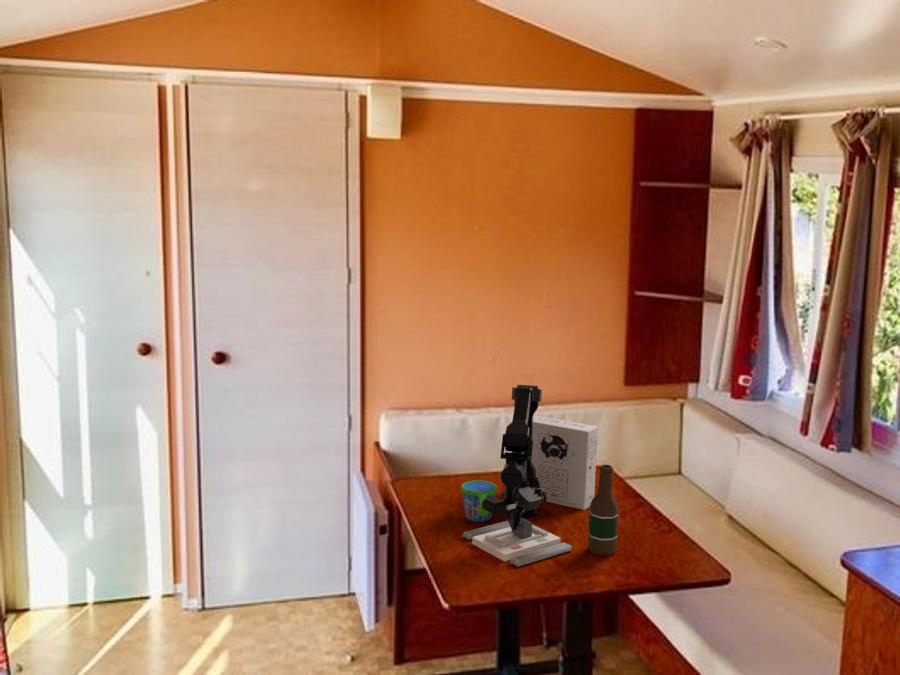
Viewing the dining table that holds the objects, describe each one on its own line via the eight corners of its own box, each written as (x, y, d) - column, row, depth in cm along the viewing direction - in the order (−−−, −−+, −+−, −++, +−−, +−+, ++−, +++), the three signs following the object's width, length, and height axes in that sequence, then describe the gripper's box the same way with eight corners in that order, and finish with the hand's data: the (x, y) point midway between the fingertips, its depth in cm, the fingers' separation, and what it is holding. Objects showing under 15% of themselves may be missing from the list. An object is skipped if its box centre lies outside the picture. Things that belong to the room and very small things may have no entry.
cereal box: (594, 503, 281) (598, 426, 277) (584, 510, 275) (588, 431, 271) (532, 489, 293) (535, 415, 288) (521, 496, 286) (524, 420, 282)
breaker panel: (527, 528, 259) (527, 518, 259) (560, 544, 248) (560, 534, 248) (472, 543, 248) (472, 533, 247) (504, 561, 237) (504, 550, 236)
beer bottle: (598, 558, 240) (603, 472, 236) (581, 547, 247) (586, 463, 243) (622, 553, 244) (627, 468, 239) (604, 542, 250) (609, 460, 246)
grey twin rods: (515, 523, 263) (515, 517, 263) (573, 551, 244) (573, 545, 244) (461, 537, 252) (461, 531, 252) (517, 568, 233) (517, 561, 232)
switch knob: (519, 530, 252) (520, 517, 251) (531, 536, 248) (532, 522, 247) (511, 533, 250) (512, 519, 249) (523, 538, 246) (523, 525, 245)
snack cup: (459, 508, 274) (460, 476, 272) (493, 509, 274) (494, 477, 273) (461, 528, 259) (462, 494, 257) (498, 528, 259) (499, 495, 257)
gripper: (507, 490, 232) (505, 547, 235) (561, 477, 243) (558, 532, 246) (481, 478, 241) (479, 533, 244) (534, 466, 252) (532, 519, 255)
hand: (513, 530), depth 247 cm, fingers closed
